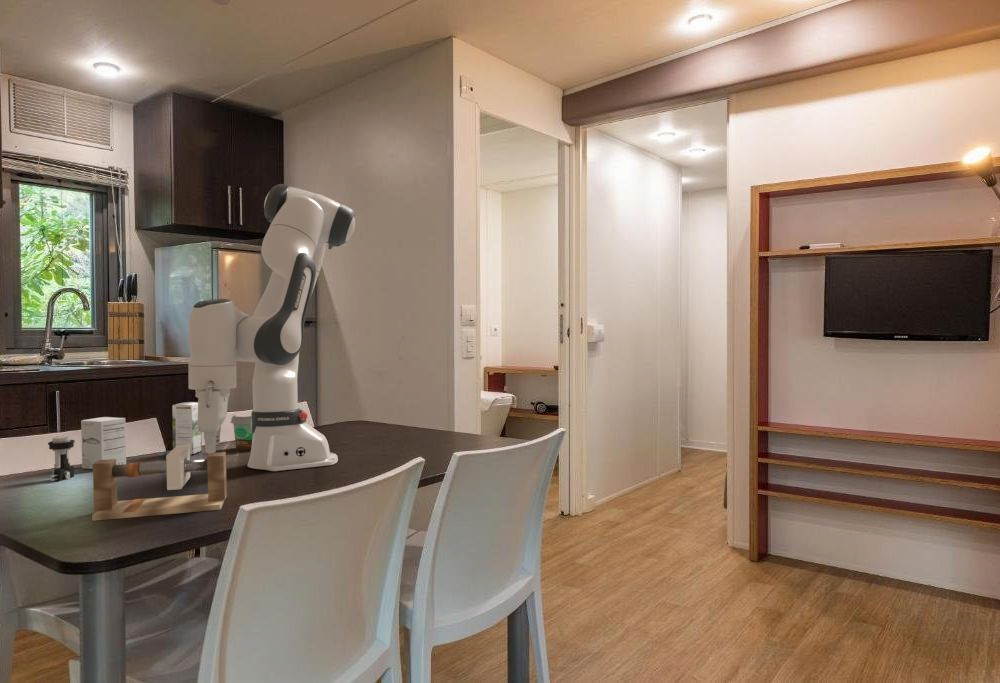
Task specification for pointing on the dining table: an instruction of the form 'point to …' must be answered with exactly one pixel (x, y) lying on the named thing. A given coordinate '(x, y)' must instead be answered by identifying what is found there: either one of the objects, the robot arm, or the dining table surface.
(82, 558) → the dining table surface
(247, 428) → the food container
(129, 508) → the rod stand
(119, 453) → the supplement box
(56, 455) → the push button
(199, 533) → the dining table surface
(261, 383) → the robot arm
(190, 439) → the syrup box
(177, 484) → the collar
